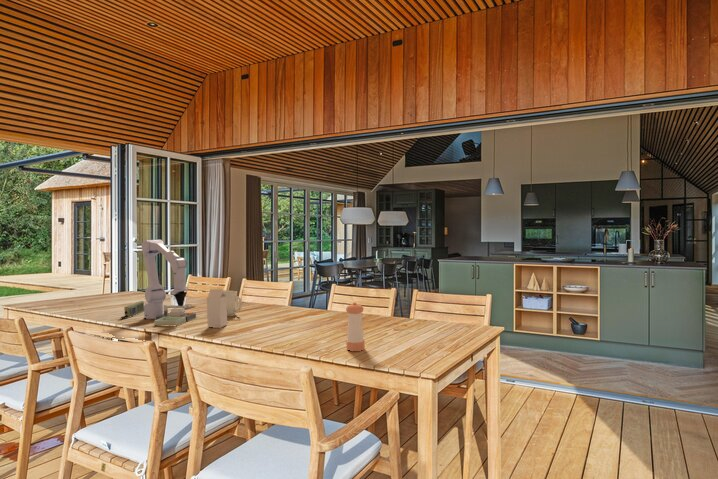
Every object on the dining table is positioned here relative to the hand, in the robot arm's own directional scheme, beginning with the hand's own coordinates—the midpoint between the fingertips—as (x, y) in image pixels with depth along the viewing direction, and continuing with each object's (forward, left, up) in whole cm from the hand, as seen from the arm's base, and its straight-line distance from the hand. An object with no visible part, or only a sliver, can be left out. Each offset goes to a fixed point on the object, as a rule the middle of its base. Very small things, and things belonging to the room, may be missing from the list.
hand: (180, 305), depth 248 cm
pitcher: (+20, +18, -9) cm, 28 cm away
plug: (-5, +6, -9) cm, 12 cm away
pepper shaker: (+101, -49, -9) cm, 113 cm away
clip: (-5, +6, -6) cm, 10 cm away
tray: (-3, -5, -9) cm, 11 cm away
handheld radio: (-38, +16, -9) cm, 43 cm away
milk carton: (+25, -10, -9) cm, 28 cm away
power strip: (-6, +6, -9) cm, 12 cm away
